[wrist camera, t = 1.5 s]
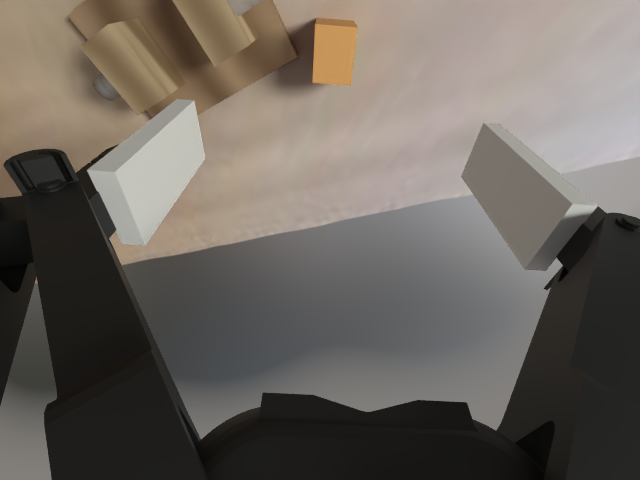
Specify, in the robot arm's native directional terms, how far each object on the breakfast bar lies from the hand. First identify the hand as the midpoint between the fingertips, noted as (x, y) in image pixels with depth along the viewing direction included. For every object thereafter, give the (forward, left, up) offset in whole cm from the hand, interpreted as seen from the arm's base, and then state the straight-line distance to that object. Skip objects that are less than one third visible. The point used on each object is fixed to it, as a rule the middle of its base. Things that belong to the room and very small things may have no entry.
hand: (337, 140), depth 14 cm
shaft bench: (+14, -8, -26) cm, 31 cm away
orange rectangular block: (0, 0, -27) cm, 27 cm away
